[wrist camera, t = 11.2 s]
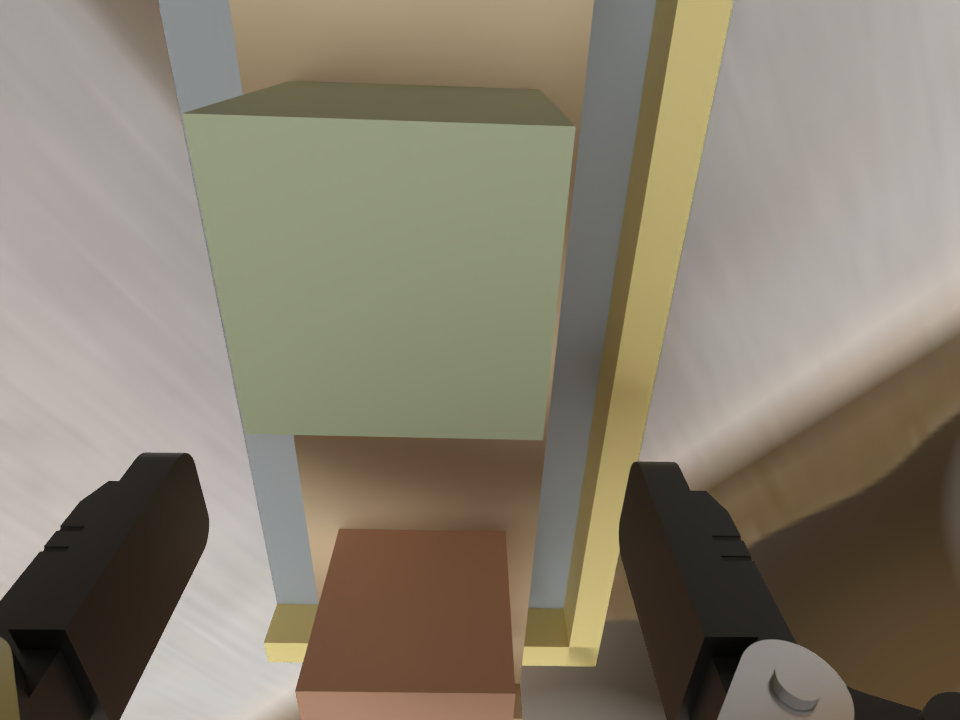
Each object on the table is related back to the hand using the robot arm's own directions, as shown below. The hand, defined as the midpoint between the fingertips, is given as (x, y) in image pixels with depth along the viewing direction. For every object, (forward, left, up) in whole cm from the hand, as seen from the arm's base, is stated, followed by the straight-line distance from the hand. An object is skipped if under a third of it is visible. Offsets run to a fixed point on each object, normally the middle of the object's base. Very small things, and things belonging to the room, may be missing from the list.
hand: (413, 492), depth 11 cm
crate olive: (-5, 0, -2) cm, 5 cm away
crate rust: (+5, 0, -2) cm, 5 cm away
